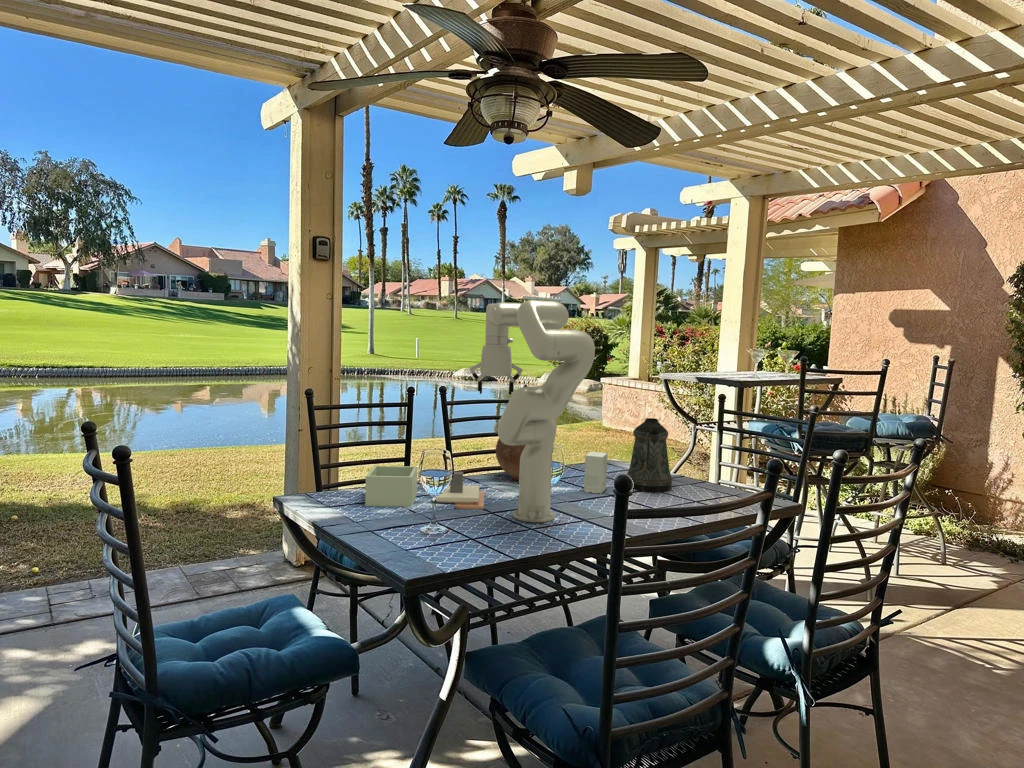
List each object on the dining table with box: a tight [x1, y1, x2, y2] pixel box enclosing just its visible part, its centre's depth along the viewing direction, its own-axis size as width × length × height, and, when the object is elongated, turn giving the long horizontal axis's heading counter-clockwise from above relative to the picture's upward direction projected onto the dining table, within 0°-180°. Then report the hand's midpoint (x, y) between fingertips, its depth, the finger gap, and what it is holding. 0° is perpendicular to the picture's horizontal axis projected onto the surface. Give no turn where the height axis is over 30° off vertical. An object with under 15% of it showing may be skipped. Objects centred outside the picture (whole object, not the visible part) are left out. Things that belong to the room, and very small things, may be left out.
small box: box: [583, 451, 608, 494], centre depth 238 cm, size 8×6×13 cm
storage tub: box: [364, 465, 418, 507], centre depth 214 cm, size 16×14×10 cm
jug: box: [495, 437, 526, 482], centre depth 253 cm, size 22×22×30 cm
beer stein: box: [626, 417, 673, 494], centre depth 243 cm, size 16×19×25 cm
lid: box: [435, 471, 480, 504], centre depth 219 cm, size 17×15×8 cm
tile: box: [453, 490, 485, 510], centre depth 220 cm, size 20×18×1 cm
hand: (495, 393), depth 223 cm, fingers open, 9 cm apart
